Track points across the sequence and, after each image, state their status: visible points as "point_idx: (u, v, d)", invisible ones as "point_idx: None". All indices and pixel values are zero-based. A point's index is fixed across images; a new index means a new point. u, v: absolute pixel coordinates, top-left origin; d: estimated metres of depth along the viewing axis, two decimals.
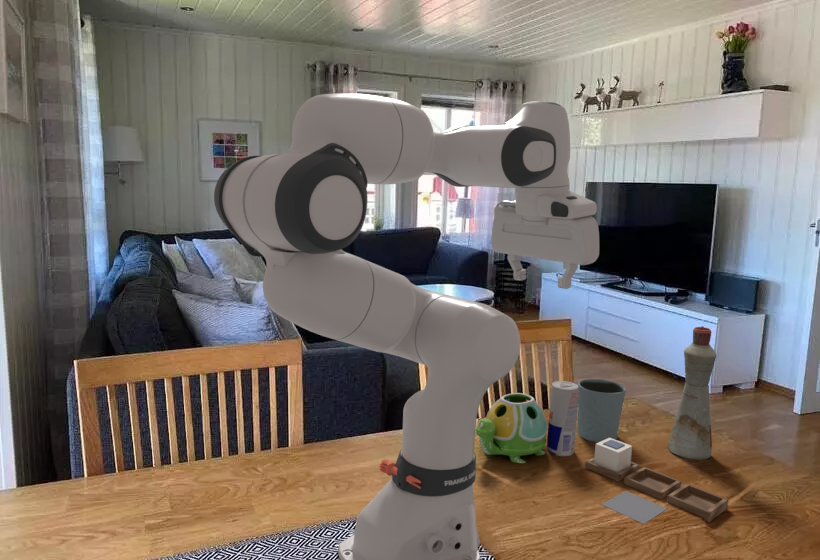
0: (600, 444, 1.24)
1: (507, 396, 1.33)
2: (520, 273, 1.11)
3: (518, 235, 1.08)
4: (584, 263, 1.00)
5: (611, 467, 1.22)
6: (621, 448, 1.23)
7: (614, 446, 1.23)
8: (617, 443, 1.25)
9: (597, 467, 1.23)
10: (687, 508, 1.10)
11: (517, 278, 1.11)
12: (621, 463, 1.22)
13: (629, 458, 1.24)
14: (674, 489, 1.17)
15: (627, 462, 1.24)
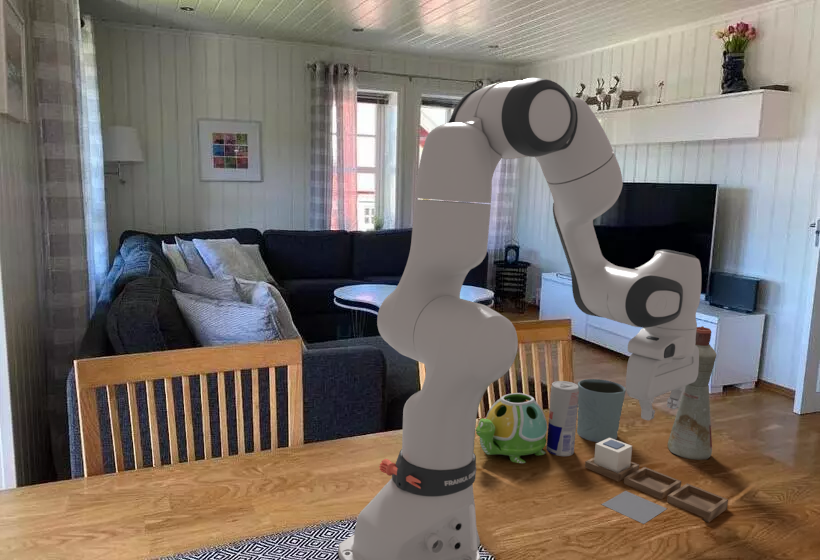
0: (600, 444, 1.24)
1: (507, 396, 1.33)
2: (668, 400, 1.19)
3: None
4: (628, 394, 1.10)
5: (611, 467, 1.22)
6: (621, 448, 1.23)
7: (614, 446, 1.23)
8: (617, 443, 1.25)
9: (597, 467, 1.23)
10: (687, 508, 1.10)
11: None
12: (621, 463, 1.22)
13: (629, 458, 1.24)
14: (674, 489, 1.17)
15: (627, 462, 1.24)
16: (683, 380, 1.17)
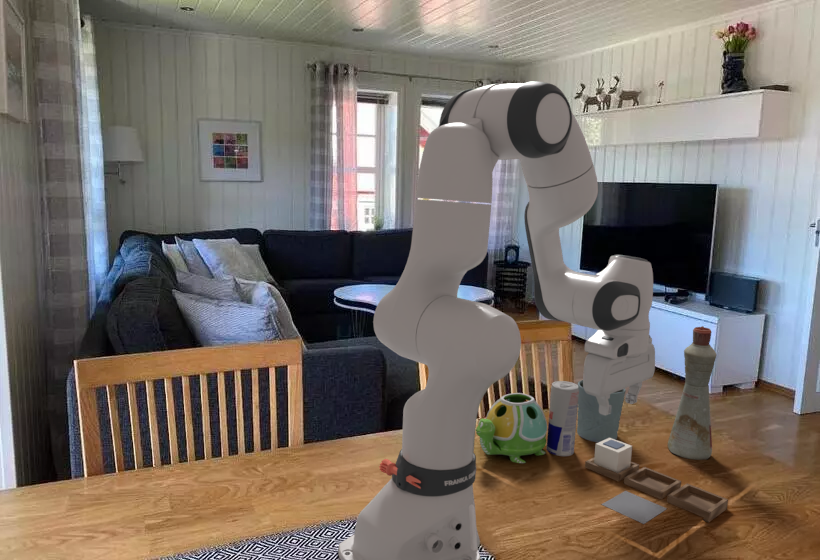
0: (600, 444, 1.24)
1: (507, 396, 1.33)
2: (626, 396, 1.26)
3: None
4: (585, 391, 1.17)
5: (611, 467, 1.22)
6: (621, 448, 1.23)
7: (614, 446, 1.23)
8: (617, 443, 1.25)
9: (597, 467, 1.23)
10: (687, 508, 1.10)
11: None
12: (621, 463, 1.22)
13: (629, 458, 1.24)
14: (674, 489, 1.17)
15: (627, 462, 1.24)
16: (639, 377, 1.23)
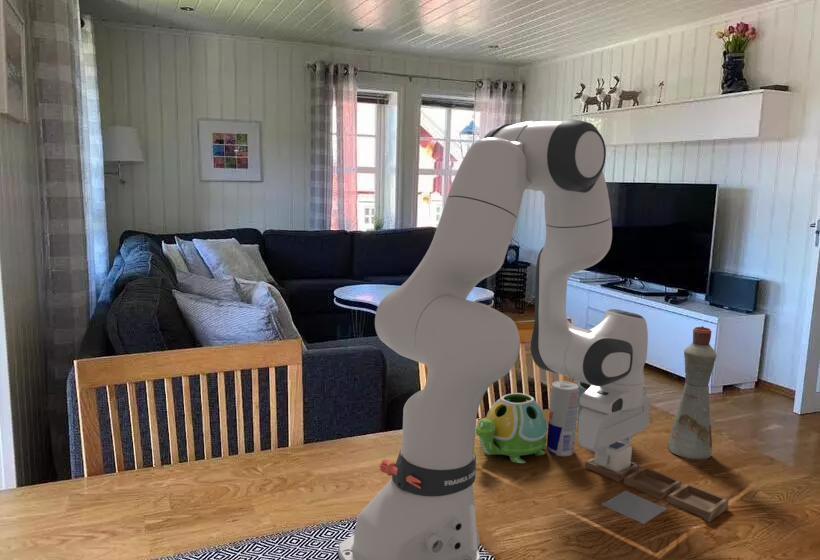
0: None
1: (507, 396, 1.33)
2: None
3: None
4: (580, 445, 1.19)
5: (611, 467, 1.22)
6: (621, 448, 1.23)
7: (614, 446, 1.23)
8: (617, 443, 1.25)
9: (597, 467, 1.23)
10: (687, 508, 1.10)
11: None
12: (621, 463, 1.22)
13: (629, 458, 1.24)
14: (674, 489, 1.17)
15: (627, 462, 1.24)
16: (633, 428, 1.25)
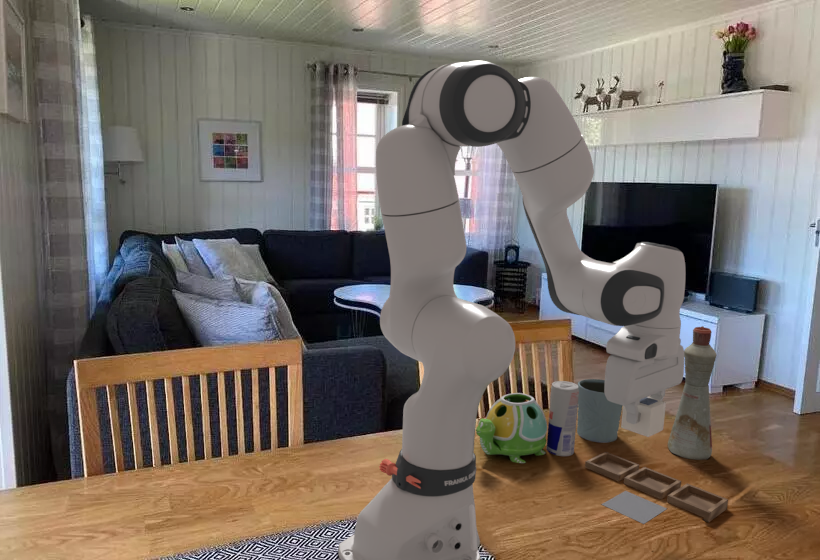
0: None
1: (507, 396, 1.33)
2: None
3: None
4: (607, 398, 1.02)
5: (642, 425, 1.06)
6: (654, 404, 1.06)
7: (645, 402, 1.07)
8: (648, 399, 1.08)
9: (597, 467, 1.23)
10: (687, 508, 1.10)
11: None
12: (654, 422, 1.06)
13: (662, 416, 1.08)
14: (674, 489, 1.17)
15: (661, 421, 1.07)
16: (667, 382, 1.08)
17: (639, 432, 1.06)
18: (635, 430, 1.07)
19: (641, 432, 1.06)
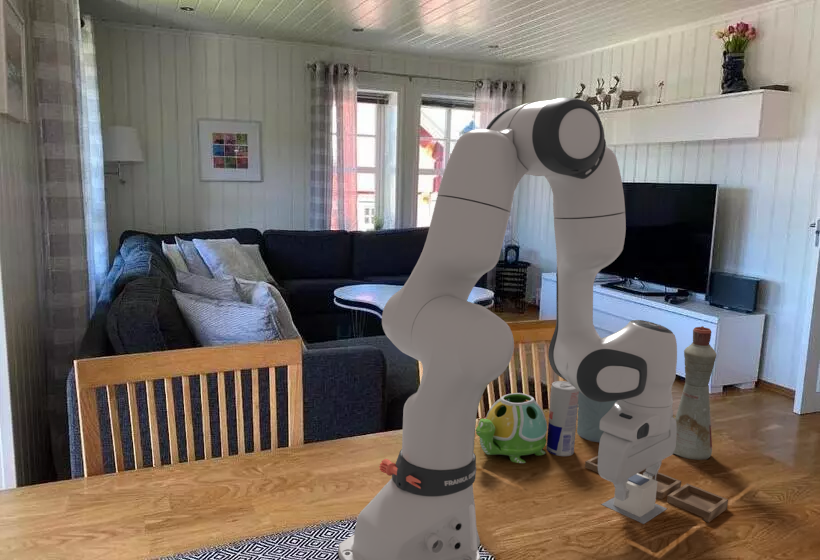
0: None
1: (507, 396, 1.33)
2: (644, 475, 1.13)
3: None
4: (600, 475, 1.05)
5: (634, 505, 1.08)
6: (645, 484, 1.08)
7: (637, 482, 1.09)
8: (640, 478, 1.10)
9: (597, 467, 1.23)
10: (687, 508, 1.10)
11: None
12: (646, 501, 1.08)
13: (654, 495, 1.10)
14: (674, 489, 1.17)
15: (652, 499, 1.10)
16: (659, 455, 1.11)
17: (631, 511, 1.09)
18: (627, 509, 1.09)
19: (633, 512, 1.08)
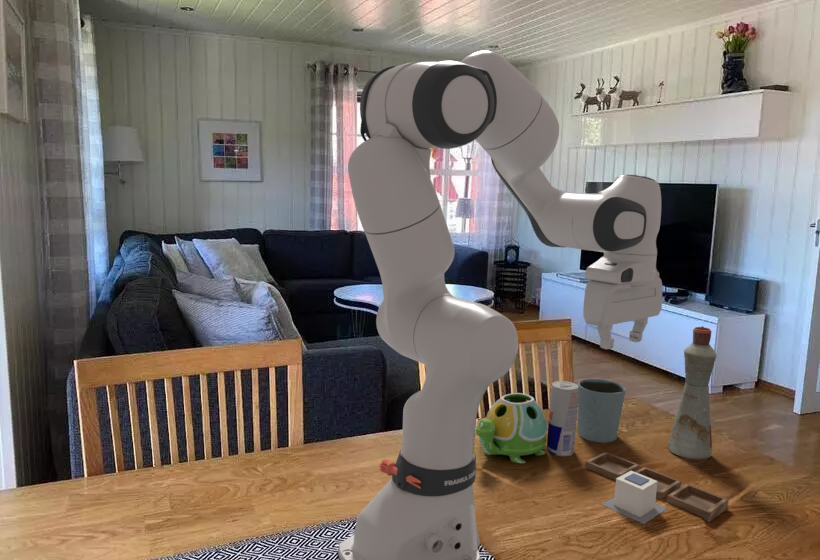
0: (621, 479, 1.10)
1: (507, 396, 1.33)
2: (630, 333, 1.17)
3: None
4: (585, 321, 1.08)
5: (634, 505, 1.08)
6: (645, 484, 1.08)
7: (637, 482, 1.09)
8: (640, 478, 1.10)
9: (597, 467, 1.23)
10: (687, 508, 1.10)
11: None
12: (646, 501, 1.08)
13: (654, 495, 1.10)
14: (674, 489, 1.17)
15: (652, 499, 1.10)
16: (645, 311, 1.14)
17: (631, 511, 1.09)
18: (627, 509, 1.09)
19: (633, 512, 1.08)
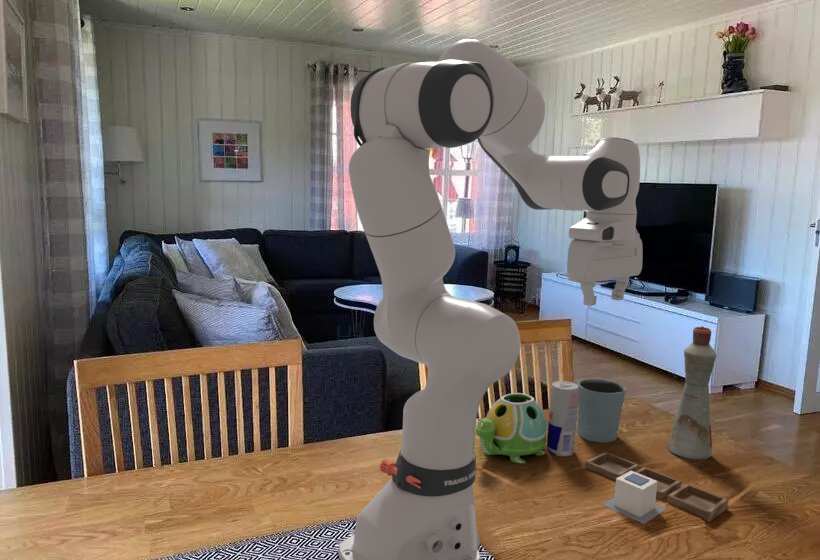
0: (621, 479, 1.10)
1: (507, 396, 1.33)
2: (612, 292, 1.22)
3: None
4: (569, 279, 1.13)
5: (634, 505, 1.08)
6: (645, 484, 1.08)
7: (637, 482, 1.09)
8: (640, 478, 1.10)
9: (597, 467, 1.23)
10: (687, 508, 1.10)
11: None
12: (646, 501, 1.08)
13: (654, 495, 1.10)
14: (674, 489, 1.17)
15: (652, 499, 1.10)
16: (626, 270, 1.19)
17: (631, 511, 1.09)
18: (627, 509, 1.09)
19: (633, 512, 1.08)
